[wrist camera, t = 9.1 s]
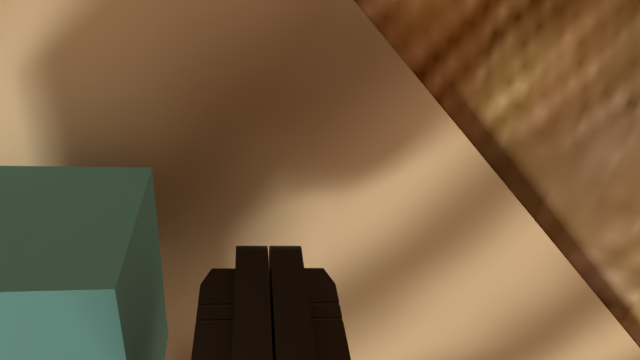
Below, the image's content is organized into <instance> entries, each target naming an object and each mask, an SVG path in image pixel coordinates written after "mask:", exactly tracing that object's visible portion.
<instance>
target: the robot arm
mask: <svg viewBox="0 0 640 360" xmlns="http://www.w3.org/2000/svg"><path fill="white" fill-rule="evenodd" d="M191 360H351V357H350V352H349V347H348V342H347V337H346V333H345V328H344V323H343V321H342V313H341V308H340V305H339V298H338V294H337V289H336V284H335V282H334V281H333V280H332V279H331V277H330V276H329V275H328V273H327V272H326V271H325V269H324V268H304V263H303V255H302V248H301V246H269V257H268V246H236V259H235V268H212V269H211V270H210V272H209V273H208V274H207V276H206V277H205V279H204V280H203V281H202V283H201V284H200V290H199V298H198V308H197V315H196V324H195V331H194V339H193V348H192V356H191Z"/></svg>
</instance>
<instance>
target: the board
mask: <svg viewBox="0 0 640 360" xmlns="http://www.w3.org/2000/svg"><path fill="white" fill-rule="evenodd" d="M0 166H70V167H152V172H153V182H154V193H155V203H156V213H157V224H158V234H159V244H160V255H161V265H162V275H163V286H164V296H165V307H166V317H167V327H168V340H167V346H166V352H165V358H164V360H191V356H192V348H193V339H194V331H195V324H196V315H197V308H198V298H199V290H200V284H201V283H202V281H203V280H204V279H205V277H206V276H207V274H208V273H209V272H210V270H211V269H212V268H235V259H236V246H268V257H269V246H301V248H302V255H303V263H304V268H324V269H325V271H326V272H327V273H328V275H329V276H330V277H331V279H332V280H333V281H334V282H335V284H336V289H337V294H338V298H339V305H340V308H341V313H342V321H343V323H344V328H345V333H346V337H347V342H348V347H349V352H350V357H351V360H640V348H639V346H638V345H637V344H636V343H635V342H634V340H633V339H632V338H631V337H630V336H629V334H628V333H627V332H626V331H625V329H624V328H623V327H622V326H621V325H620V323H619V322H618V321H617V320H616V319H615V317H614V316H613V315H612V314H611V312H610V311H609V310H608V309H607V308H606V306H605V305H604V304H603V303H602V301H601V300H600V299H599V298H598V297H597V295H596V294H595V293H594V292H593V291H592V289H591V288H590V287H589V286H588V284H587V283H586V282H585V281H584V280H583V278H582V277H581V276H580V275H579V274H578V272H577V271H576V270H575V269H574V267H573V266H572V265H571V264H570V263H569V261H568V260H567V259H566V258H565V256H564V255H563V254H562V253H561V252H560V250H559V249H558V248H557V247H556V246H555V244H554V243H553V242H552V241H551V239H550V238H549V237H548V236H547V235H546V233H545V232H544V231H543V230H542V228H541V227H540V226H539V225H538V224H537V222H536V221H535V220H534V219H533V218H532V216H531V215H530V214H529V213H528V211H527V210H526V209H525V208H524V207H523V205H522V204H521V203H520V202H519V201H518V199H517V198H516V197H515V196H514V194H513V193H512V192H511V191H510V190H509V188H508V187H507V186H506V185H505V183H504V182H503V181H502V180H501V179H500V177H499V176H498V175H497V174H496V173H495V171H494V170H493V169H492V168H491V166H490V165H489V164H488V163H487V162H486V160H485V159H484V158H483V157H482V155H481V154H480V153H479V152H478V151H477V149H476V148H475V147H474V146H473V145H472V143H471V142H470V141H469V140H468V138H467V137H466V136H465V135H464V134H463V132H462V131H461V130H460V129H459V128H458V126H457V125H456V124H455V123H454V121H453V120H452V119H451V118H450V117H449V115H448V114H447V113H446V112H445V110H444V109H443V108H442V107H441V106H440V104H439V103H438V102H437V101H436V100H435V98H434V97H433V96H432V95H431V93H430V92H429V91H428V90H427V89H426V87H425V86H424V85H423V84H422V83H421V81H420V80H419V79H418V78H417V76H416V75H415V74H414V73H413V72H412V70H411V69H410V68H409V67H408V65H407V64H406V63H405V62H404V61H403V59H402V58H401V57H400V56H399V55H398V53H397V52H396V51H395V50H394V48H393V47H392V46H391V45H390V44H389V42H388V41H387V40H386V39H385V37H384V36H383V35H382V34H381V33H380V31H379V30H378V29H377V28H376V27H375V25H374V24H373V23H372V22H371V20H370V19H369V18H368V17H367V16H366V14H365V13H364V12H363V11H362V10H361V8H360V7H359V6H358V5H357V3H356V2H355V1H354V0H0Z"/></svg>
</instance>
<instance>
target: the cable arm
mask: <svg viewBox="0 0 640 360" xmlns="http://www.w3.org/2000/svg"><path fill="white" fill-rule="evenodd" d="M167 340H168V327H167V317H166V307H165V296H164V286H163V275H162V265H161V255H160V244H159V234H158V224H157V213H156V203H155V193H154V182H153V172H152V167H70V166H0V360H164V358H165V352H166V346H167Z"/></svg>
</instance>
